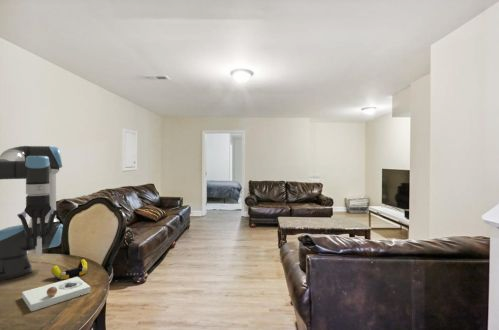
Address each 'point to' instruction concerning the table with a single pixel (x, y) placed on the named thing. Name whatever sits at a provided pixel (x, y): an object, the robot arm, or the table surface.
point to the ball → (69, 285)
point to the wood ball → (51, 291)
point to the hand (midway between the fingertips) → (38, 253)
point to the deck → (40, 299)
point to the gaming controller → (70, 271)
